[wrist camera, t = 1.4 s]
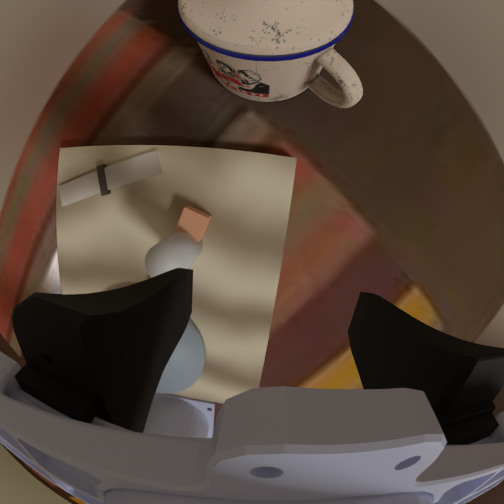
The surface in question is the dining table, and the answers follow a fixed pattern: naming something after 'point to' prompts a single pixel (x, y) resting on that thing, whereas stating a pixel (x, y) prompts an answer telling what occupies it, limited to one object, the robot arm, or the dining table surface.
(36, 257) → the dining table surface
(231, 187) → the cream flat board
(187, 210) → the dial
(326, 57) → the teacup with lid
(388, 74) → the dining table surface
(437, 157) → the dining table surface
